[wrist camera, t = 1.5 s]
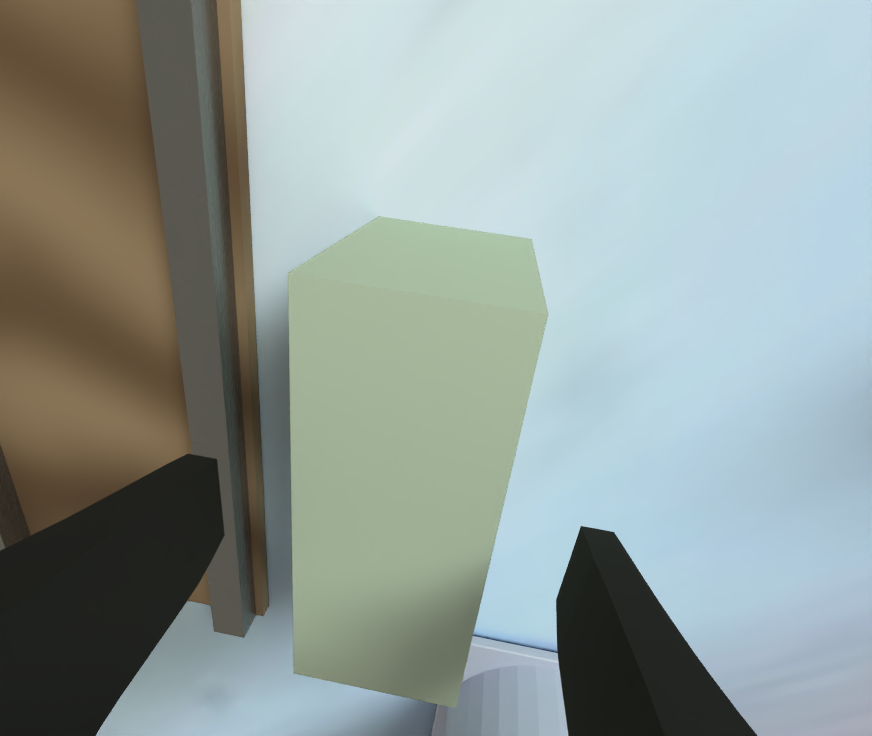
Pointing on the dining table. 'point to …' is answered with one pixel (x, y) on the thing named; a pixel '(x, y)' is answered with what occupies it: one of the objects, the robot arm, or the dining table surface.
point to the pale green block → (404, 445)
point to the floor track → (128, 269)
